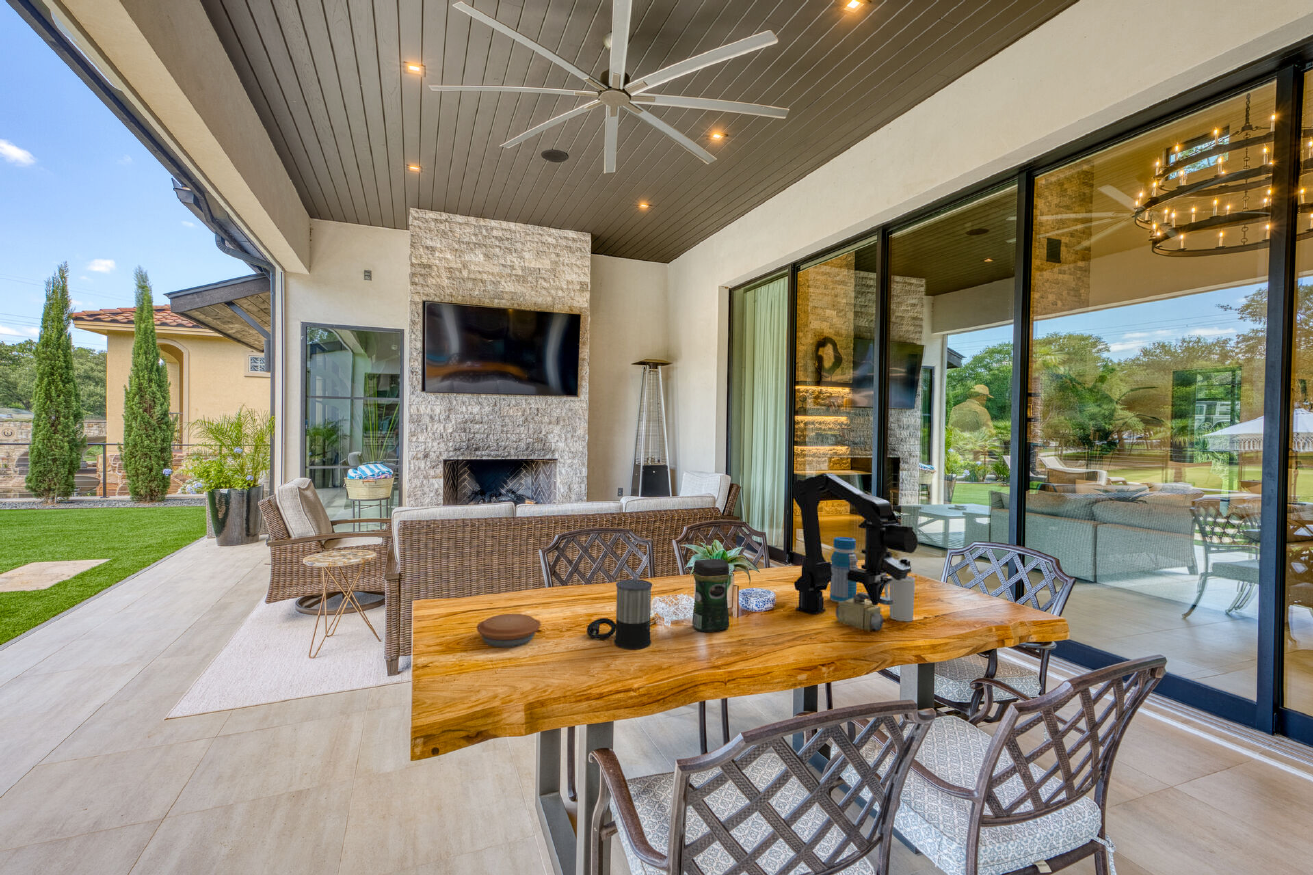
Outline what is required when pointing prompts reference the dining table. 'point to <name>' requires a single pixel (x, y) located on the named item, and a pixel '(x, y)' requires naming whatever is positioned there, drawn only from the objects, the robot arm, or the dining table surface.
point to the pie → (508, 630)
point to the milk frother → (628, 616)
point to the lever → (863, 596)
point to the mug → (901, 598)
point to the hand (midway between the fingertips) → (875, 604)
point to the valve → (860, 614)
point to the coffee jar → (711, 595)
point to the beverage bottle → (843, 569)
